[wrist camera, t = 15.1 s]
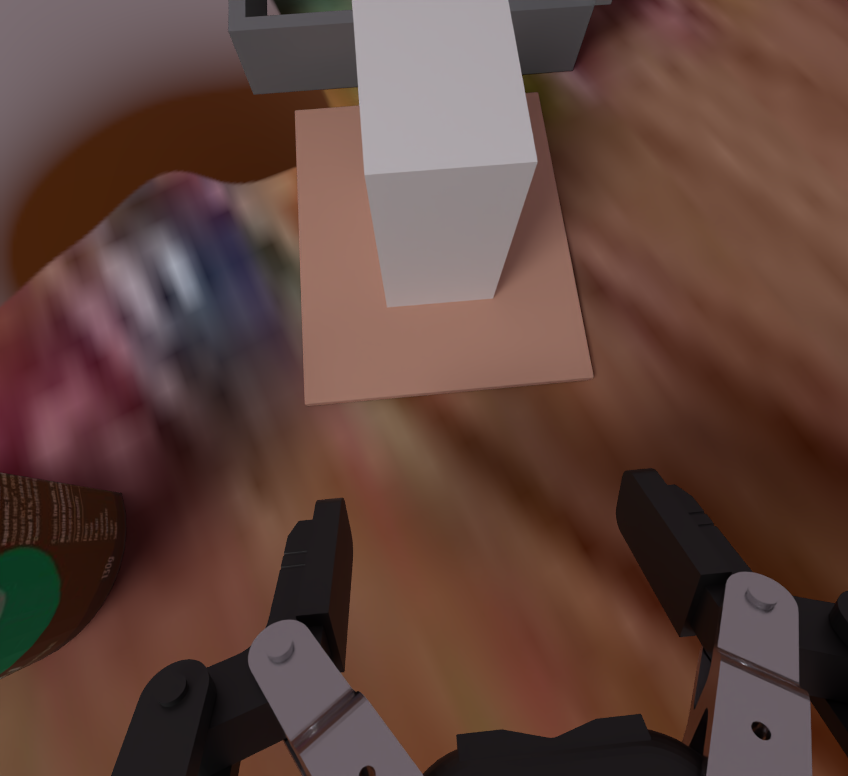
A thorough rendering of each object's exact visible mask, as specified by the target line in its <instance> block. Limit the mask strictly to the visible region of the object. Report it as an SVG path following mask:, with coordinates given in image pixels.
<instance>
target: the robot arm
mask: <svg viewBox="0 0 848 776" xmlns="http://www.w3.org/2000/svg"><path fill="white" fill-rule="evenodd" d="M616 519H617V523H618V527H619V529H620V532H621V533H622V535H623V537H624V539H625V541H626V542H627V544H628V546H629V548H630V550H631V551H632V553H633V555H634V557H635V558H636V560H637V562H638V564H639V566H640V567H641V569H642V571H643V573H644V575H645V576H646V578H647V580H648V582H649V583H650V585H651V587H652V589H653V591H654V592H655V594H656V596H657V598H658V600H659V601H660V603H661V605H662V607H663V608H664V610H665V612H666V614H667V616H668V617H669V619H670V621H671V623H672V625H673V626H674V628H675V630H676V632H677V633H678V635H679V637H686V636H695V635H696V636H697V637H698V639H699V641H700V642H701V644H702V646H701V649H700V652H699V658H698V665H697V671H696V677H695V683H694V689H693V695H692V701H691V707H690V713H689V718H688V723H687V727H686V730H685V734H684V737H683V741H682V742H680V741H678V740H677V739H674V738H672V737H670V736H667V735H665V734H662V733H659V732H656V731H653V730H648V729H647V727H646V725H645V723H644V720H643V718H642V715H641V714H635V715H626V716H618V717H609V718H600V719H595V720H592V721H590V722H588V723H586V724H584V725H582V726H579V727H577V728H575V729H573V730H571V731H569V732H566V733H564V734H562V735H560V736H558V737H555V738H546V737H541V736H535V735H530V734H524V733H519V732H513V731H508V730H493V731H484V732H475V733H467V734H458V735H456V736H457V750H454V751H452V752H450V753H448V754H446V755H445V756H443V757H442V758H440V759H439V760H437V761H436V762H435V763H434V764H433V765H431V766H430V767H429V768H428V769H427V770H426V771H425V772H424V773H423V774H422V773H421V772H420V770H419V769H418V768H417V766H416V765H415V763H414V762H413V761H412V759H411V758H410V757H409V755H408V754H407V753H406V751H405V750H404V749H403V747H402V746H401V744H400V743H399V742H398V740H397V739H396V738H395V736H394V735H393V734H392V732H391V731H390V730H389V728H388V727H387V726H386V724H385V723H384V721H383V720H382V719H381V717H380V716H379V715H378V713H377V712H376V711H375V709H374V708H373V707H372V705H371V704H370V703H369V701H368V700H367V699H366V698H365V696H364V695H363V694H362V693H361V692H359V691H357V692H355V691H354V690H353V689H352V688H351V687H350V685H349V684H348V683H347V681H346V680H345V679H344V677H343V676H342V674H341V673H340V672H344V671H345V658H346V644H347V631H348V617H349V604H350V590H351V577H352V563H353V542H352V535H351V530H350V525H349V520H348V515H347V510H346V505H345V501H344V498H335V499H325V500H317V501H316V504H315V510H314V515H313V520H304V521H298V523H297V524H296V526H295V527H294V528H293V530H292V531H291V533H290V534H289V535H288V538H287V542H286V547H285V551H284V556H283V560H282V564H281V570H280V573H279V577H278V581H277V586H276V590H275V594H274V599H273V603H272V607H271V612H270V616H269V620H268V623H267V626H266V628H265V629H264V630H263V631H262V632H261V633H260V634H259V635H258V636H257V637H256V639H255V640H254V642H253V643H252V645H251V646H250V647H249V648H248V649H246V650H245V651H243V652H242V653H240V654H238V655H236V656H233V657H231V658H229V659H226V660H224V661H222V662H219V663H217V664H215V665H212V666H210V667H207V668H206V667H205V666H204V664H202V663H201V662H199V661H197V660H191V659H188V660H181V661H177V662H175V663H172V664H170V665H169V666H167V667H165V668H164V669H162V670H161V671H160V672H158V673H157V674H156V675H155V676H154V677H153V678H152V679H151V680H150V681H149V683H148V684H147V685H146V687H145V688H144V690H143V692H142V694H141V696H140V698H139V701H138V703H137V706H136V709H135V712H134V714H133V717H132V720H131V723H130V725H129V728H128V731H127V734H126V736H125V739H124V742H123V744H122V747H121V750H120V753H119V755H118V758H117V761H116V764H115V766H114V769H113V772H112V775H111V776H238V773H239V767H240V762H241V760H243V759H245V758H247V757H249V756H251V755H253V754H255V753H257V752H259V751H261V750H263V749H265V748H267V747H269V746H271V745H273V744H275V743H278V742H280V741H282V740H283V742H284V744H285V746H286V748H287V749H288V751H289V753H290V755H291V757H292V759H293V760H294V762H295V764H296V766H297V768H298V770H299V771H300V773H301V775H302V776H812V750H811V712H810V701H811V702H812V704H813V705H814V707H815V708H816V710H817V711H818V713H819V714H820V716H821V717H822V719H823V720H824V722H825V723H826V725H827V726H828V728H829V729H830V731H831V732H832V734H833V736H834V737H835V739H836V740H837V742H838V743H839V745H840V746H841V748H842V749H843V751H844V752H845V754H846V755H847V757H848V591H846V592H844V593H842V594H841V595H840V596H839V598H838V599H837V601H836V603H830V602H824V601H818V600H812V599H807V598H801V597H796V596H792V595H791V594H790V593H789V592H788V591H787V590H786V589H785V588H784V587H783V586H782V585H780V584H779V583H777V582H776V581H774V580H772V579H770V578H768V577H766V576H764V575H761V574H757V573H753V572H752V571H751V569H750V568H749V567H748V566H747V564H746V563H745V562H744V561H743V559H742V558H741V557H740V556H739V554H738V553H737V552H736V551H735V549H734V548H733V547H732V546H731V544H730V543H729V542H728V541H727V539H726V538H725V537H724V536H723V534H722V533H721V532H720V531H719V529H718V528H717V527H716V526H714V523H713V522H712V521H711V519H710V518H709V517H708V516H707V514H704V511H703V509H702V508H701V507H700V506H699V504H698V503H697V502H696V501H695V499H694V498H693V497H692V496H691V495H689V494H688V493H686V492H685V491H684V490H682V489H681V488H679V487H678V486H676V485H667V484H666V483H665V482H664V480H663V479H662V478H661V476H660V475H659V474H658V472H657V471H656V470H655V469H653V468H648V469H638V470H628V471H625V472H624V473H623V476H622V480H621V486H620V491H619V496H618V502H617V507H616Z"/></svg>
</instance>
